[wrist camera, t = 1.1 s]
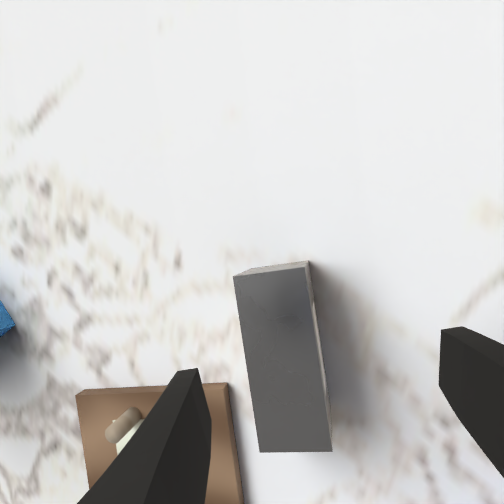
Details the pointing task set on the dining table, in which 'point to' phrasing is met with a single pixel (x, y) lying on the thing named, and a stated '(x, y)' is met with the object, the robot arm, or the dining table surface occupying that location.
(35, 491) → the dining table surface
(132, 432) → the pin tray
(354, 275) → the dining table surface
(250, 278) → the block
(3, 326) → the perfume bottle
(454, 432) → the dining table surface
